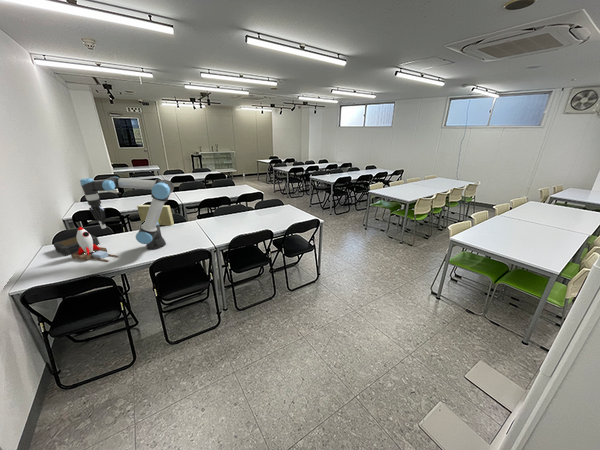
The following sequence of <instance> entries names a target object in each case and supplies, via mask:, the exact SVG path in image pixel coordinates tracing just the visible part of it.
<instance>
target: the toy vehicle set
mask: <svg viewBox="0 0 600 450" xmlns="http://www.w3.org/2000/svg"><path fill="white" fill-rule="evenodd" d="M150 205H151V204H139V205H137V206H136V208H137V211H138V215H139V218H140V222H141V224H142V223H143V222H144V221H145V219H146V216H147V213H148V210H149V208H150ZM158 223H159V226H173V225H174V224H175V223H174V218H173V213H172V210H171V206H170V205H167V204H166V205H165V204H164V205H163V208H162V211H161V214H160V216H159V219H158Z"/></svg>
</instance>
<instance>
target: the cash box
mask: <svg viewBox="0 0 600 450" xmlns="http://www.w3.org/2000/svg"><path fill="white" fill-rule="evenodd" d="M89 234H90V233H89ZM90 235H91V237H92V240H93V244H95V245H97V246H99V245H100V240H99V239H98V237H97V236H95V235H93V234H90ZM98 244H99V245H98ZM53 247H54V249H55V251H56V252H57V253H59V254H61V255H63V256H65V257H67V256H71V254H73V253H75V252H78V250H79V248H80V245H79V243H78V241H77V235H76V236H73V237H70V238H67V239H64V240H63V239H62V240H60V241H57V242H54V243H53Z"/></svg>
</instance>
